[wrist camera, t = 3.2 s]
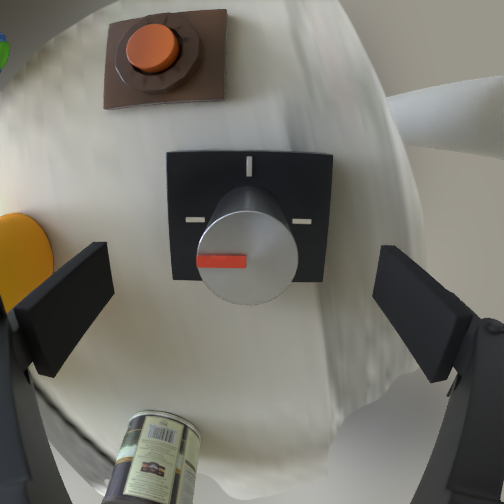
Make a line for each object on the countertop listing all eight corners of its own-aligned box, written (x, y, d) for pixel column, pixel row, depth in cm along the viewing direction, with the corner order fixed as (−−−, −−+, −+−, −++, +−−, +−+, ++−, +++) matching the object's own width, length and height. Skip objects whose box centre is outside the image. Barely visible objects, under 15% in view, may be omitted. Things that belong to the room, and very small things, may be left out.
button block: (227, 14, 20) (225, -1, 17) (225, 101, 23) (221, 95, 20) (114, 27, 20) (100, 17, 17) (109, 110, 22) (93, 107, 20)
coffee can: (147, 452, 38) (128, 527, 25) (116, 409, 35) (83, 494, 21) (211, 452, 37) (203, 536, 24) (187, 408, 34) (168, 507, 21)
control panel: (323, 153, 24) (334, 154, 21) (315, 267, 27) (323, 283, 25) (175, 150, 24) (165, 152, 21) (180, 265, 27) (172, 281, 24)
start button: (181, 28, 18) (175, 20, 16) (178, 70, 19) (173, 65, 18) (135, 34, 18) (127, 27, 16) (132, 75, 19) (124, 71, 18)
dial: (284, 186, 22) (302, 213, 14) (281, 252, 24) (295, 308, 16) (213, 185, 22) (193, 211, 14) (214, 251, 24) (198, 307, 16)
